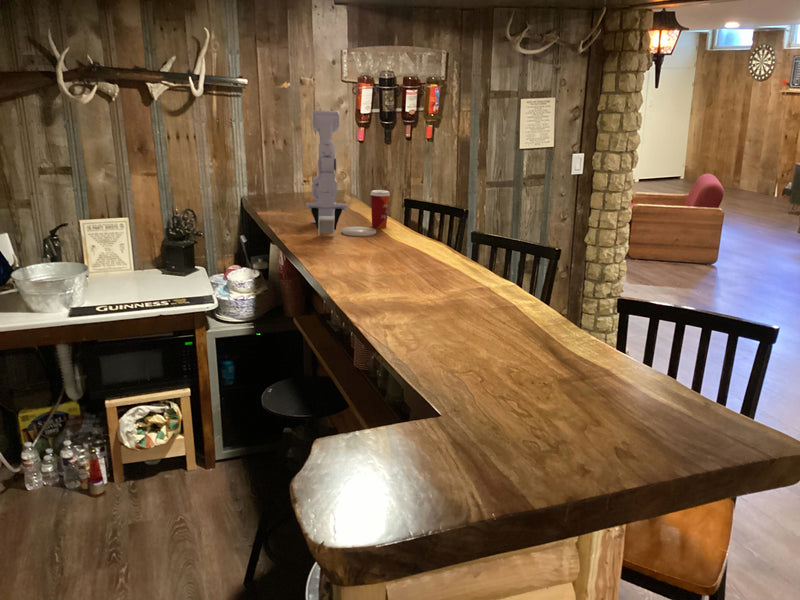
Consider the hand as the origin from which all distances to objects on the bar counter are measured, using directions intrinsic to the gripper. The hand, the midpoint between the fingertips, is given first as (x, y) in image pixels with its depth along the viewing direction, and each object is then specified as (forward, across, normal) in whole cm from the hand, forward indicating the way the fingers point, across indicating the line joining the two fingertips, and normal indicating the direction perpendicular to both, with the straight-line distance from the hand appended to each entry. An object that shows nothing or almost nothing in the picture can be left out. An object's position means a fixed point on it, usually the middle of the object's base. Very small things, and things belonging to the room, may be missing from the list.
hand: (326, 229), depth 251 cm
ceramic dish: (+3, +12, +9) cm, 15 cm away
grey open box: (+2, 0, 0) cm, 2 cm away
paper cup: (+3, +20, +21) cm, 29 cm away
